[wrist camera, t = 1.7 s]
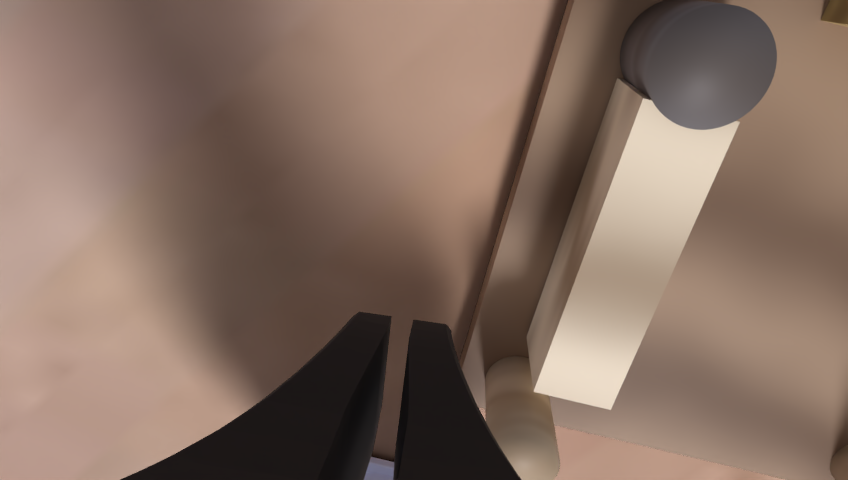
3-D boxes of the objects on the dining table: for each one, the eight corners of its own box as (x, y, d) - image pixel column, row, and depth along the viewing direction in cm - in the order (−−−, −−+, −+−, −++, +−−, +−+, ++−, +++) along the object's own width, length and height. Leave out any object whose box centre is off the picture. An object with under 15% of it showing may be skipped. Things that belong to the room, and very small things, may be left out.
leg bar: (641, -13, 16) (676, -10, 13) (742, 11, 16) (799, 20, 13) (521, 335, 21) (527, 394, 18) (599, 354, 21) (618, 415, 18)
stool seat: (874, 480, 24) (971, 606, 19) (453, 381, 24) (446, 484, 19) (1197, 37, 17) (1480, 64, 12) (601, -110, 16) (649, -142, 12)
